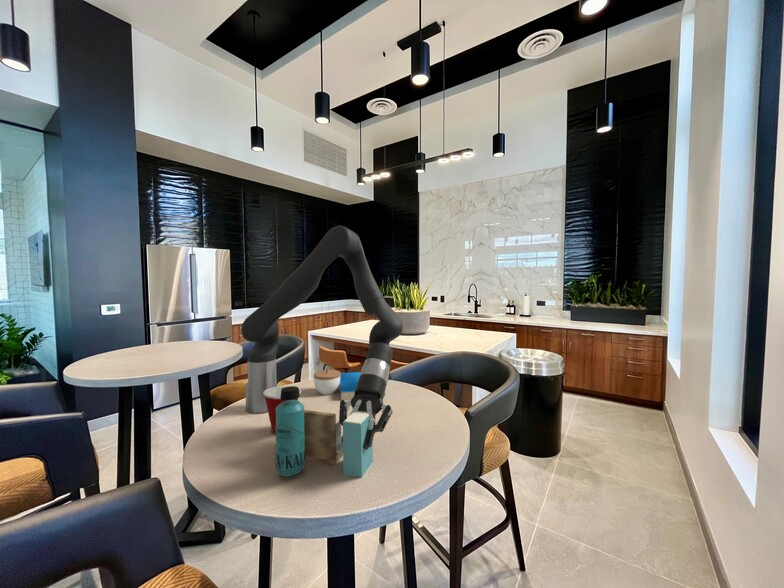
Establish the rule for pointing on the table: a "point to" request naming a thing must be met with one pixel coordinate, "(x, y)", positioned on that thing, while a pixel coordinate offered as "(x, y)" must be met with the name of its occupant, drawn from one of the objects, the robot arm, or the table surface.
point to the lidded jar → (327, 381)
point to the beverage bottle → (290, 433)
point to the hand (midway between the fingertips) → (355, 446)
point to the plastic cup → (274, 403)
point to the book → (348, 385)
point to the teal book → (356, 445)
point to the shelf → (322, 437)
